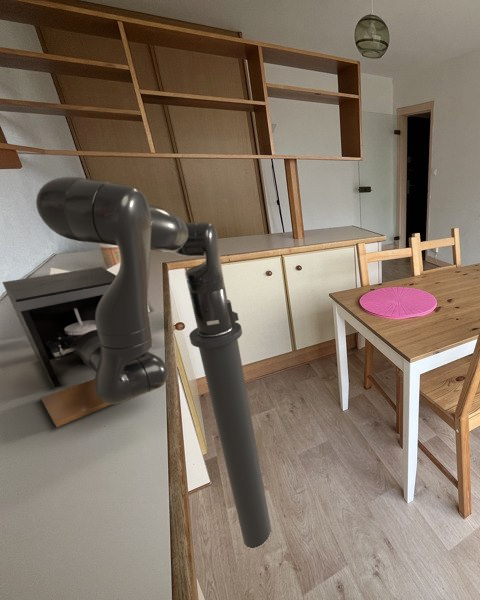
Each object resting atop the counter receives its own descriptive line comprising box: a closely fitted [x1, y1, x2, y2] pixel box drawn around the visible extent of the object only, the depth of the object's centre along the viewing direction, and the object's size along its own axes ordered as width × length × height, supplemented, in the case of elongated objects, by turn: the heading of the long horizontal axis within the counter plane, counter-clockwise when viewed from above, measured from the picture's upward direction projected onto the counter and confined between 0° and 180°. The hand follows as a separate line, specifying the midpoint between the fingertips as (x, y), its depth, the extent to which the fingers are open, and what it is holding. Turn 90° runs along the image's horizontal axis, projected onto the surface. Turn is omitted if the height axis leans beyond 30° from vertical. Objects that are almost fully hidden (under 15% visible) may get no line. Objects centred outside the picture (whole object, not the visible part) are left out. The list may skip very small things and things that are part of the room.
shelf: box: [2, 266, 116, 389], centre depth 76 cm, size 17×17×21 cm
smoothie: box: [64, 308, 97, 336], centre depth 77 cm, size 6×6×14 cm
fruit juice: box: [98, 243, 121, 270], centre depth 144 cm, size 9×9×28 cm
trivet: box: [40, 378, 112, 428], centre depth 66 cm, size 12×12×1 cm
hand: (83, 329), depth 76 cm, fingers open, 8 cm apart
